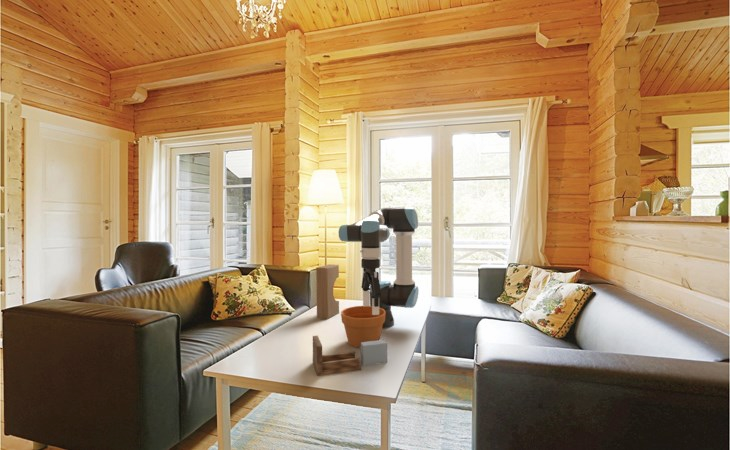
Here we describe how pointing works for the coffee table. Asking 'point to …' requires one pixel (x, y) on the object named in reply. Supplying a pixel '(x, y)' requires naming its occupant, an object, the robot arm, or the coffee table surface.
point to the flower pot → (362, 324)
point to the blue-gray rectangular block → (373, 352)
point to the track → (333, 360)
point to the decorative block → (326, 291)
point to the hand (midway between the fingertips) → (370, 310)
